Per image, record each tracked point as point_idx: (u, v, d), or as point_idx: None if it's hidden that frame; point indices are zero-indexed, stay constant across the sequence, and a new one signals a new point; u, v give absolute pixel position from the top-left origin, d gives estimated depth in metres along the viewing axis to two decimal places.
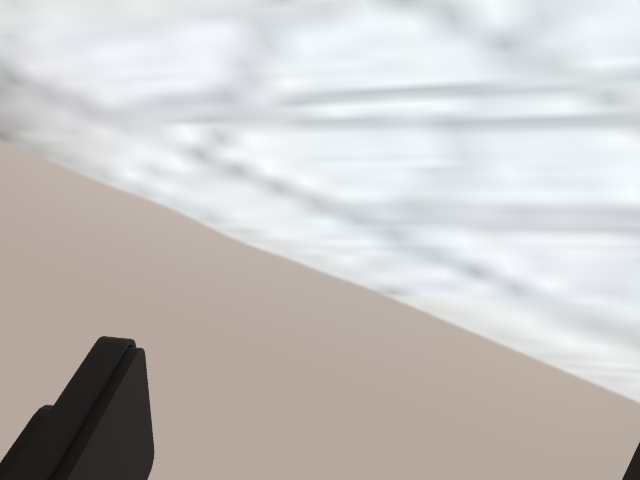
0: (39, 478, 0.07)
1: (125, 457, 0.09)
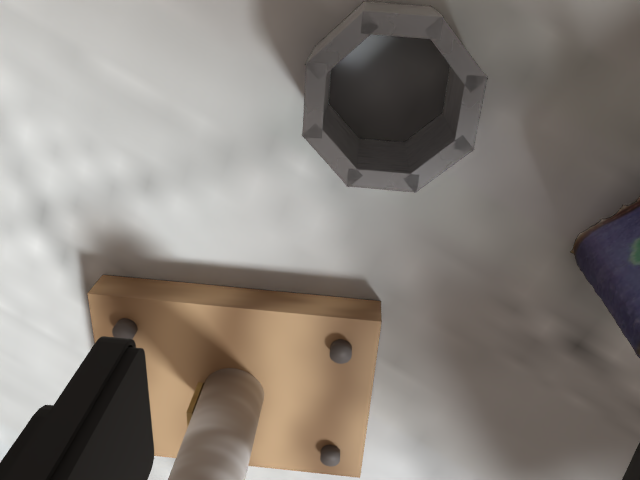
0: (39, 478, 0.07)
1: (125, 457, 0.09)
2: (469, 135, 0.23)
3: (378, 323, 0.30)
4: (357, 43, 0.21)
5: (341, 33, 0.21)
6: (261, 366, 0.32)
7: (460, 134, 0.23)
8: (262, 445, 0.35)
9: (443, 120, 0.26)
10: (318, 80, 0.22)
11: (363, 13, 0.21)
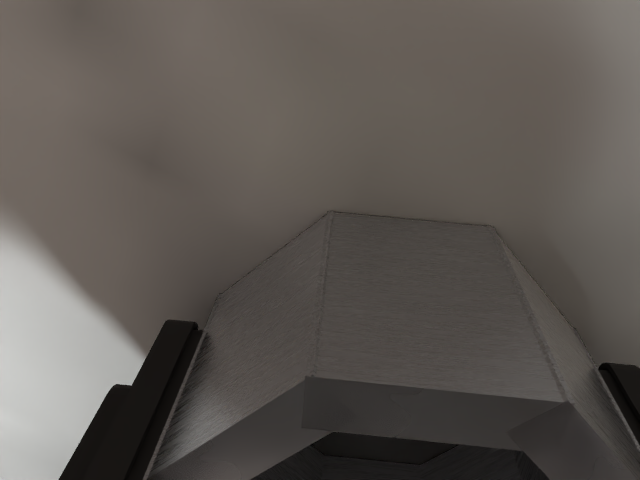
0: (132, 445, 0.08)
1: None
2: None
3: None
4: (292, 450, 0.07)
5: (241, 425, 0.07)
6: None
7: None
8: None
9: (513, 468, 0.11)
10: None
11: (308, 384, 0.06)
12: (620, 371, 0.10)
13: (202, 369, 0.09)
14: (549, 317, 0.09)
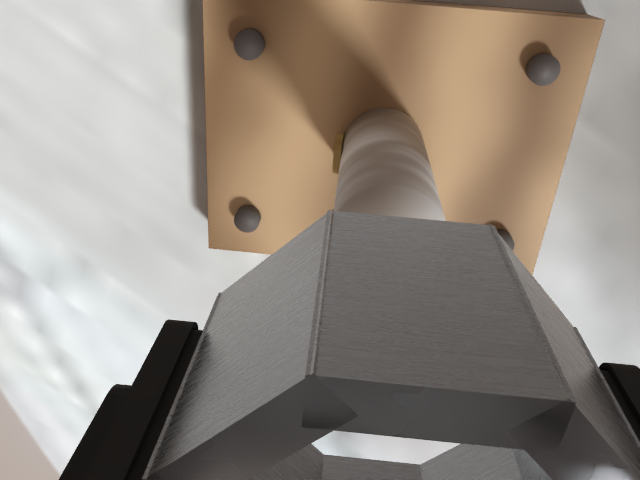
0: (132, 445, 0.08)
1: None
2: None
3: (600, 23, 0.22)
4: (292, 449, 0.07)
5: (240, 424, 0.07)
6: (426, 103, 0.24)
7: None
8: None
9: (513, 467, 0.11)
10: None
11: (308, 383, 0.06)
12: (620, 371, 0.10)
13: (202, 368, 0.09)
14: (550, 316, 0.09)
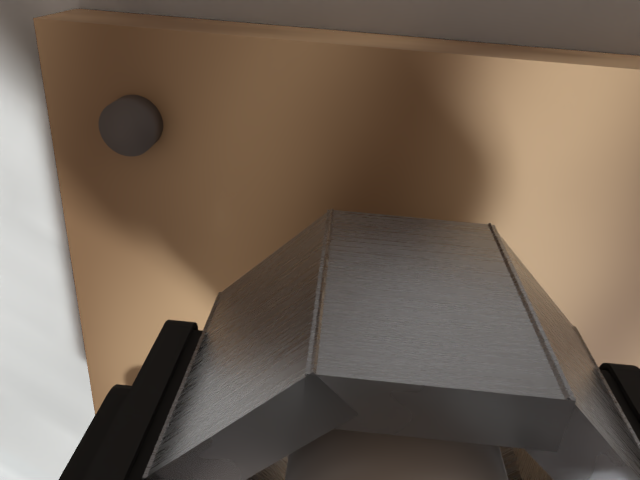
0: (132, 446, 0.08)
1: None
2: None
3: None
4: (292, 448, 0.07)
5: (240, 423, 0.07)
6: None
7: None
8: None
9: (514, 467, 0.11)
10: None
11: (308, 381, 0.06)
12: (620, 371, 0.10)
13: (202, 367, 0.09)
14: (550, 315, 0.09)
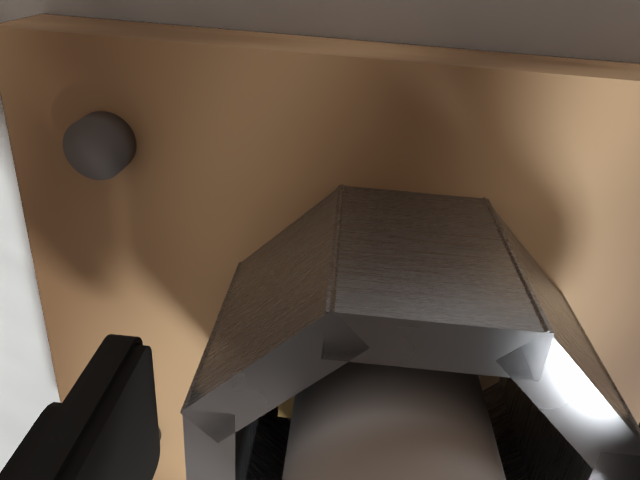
0: (49, 474, 0.07)
1: (132, 454, 0.10)
2: None
3: None
4: (313, 379, 0.08)
5: (269, 357, 0.08)
6: None
7: None
8: None
9: (506, 421, 0.12)
10: (218, 442, 0.09)
11: (327, 318, 0.07)
12: None
13: (229, 322, 0.10)
14: (537, 277, 0.10)
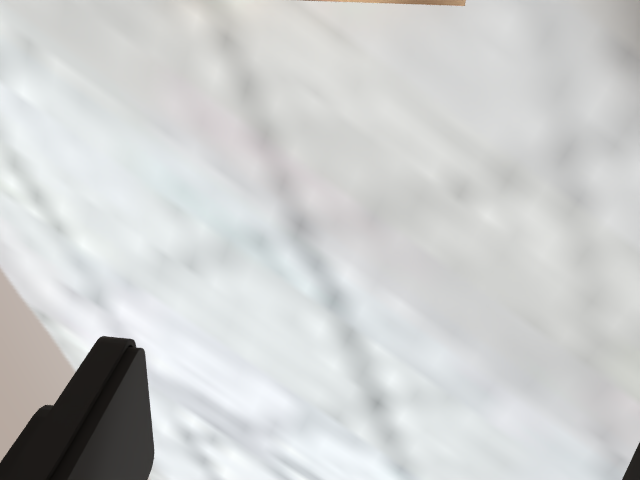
0: (39, 478, 0.07)
1: (125, 457, 0.09)
2: None
3: None
4: None
5: None
6: None
7: None
8: None
9: None
10: None
11: None
12: None
13: None
14: None
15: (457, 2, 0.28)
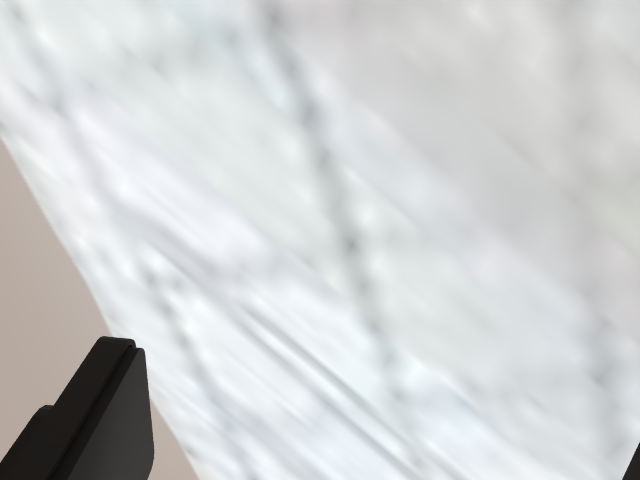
0: (39, 478, 0.07)
1: (125, 457, 0.09)
2: None
3: None
4: None
5: None
6: None
7: None
8: None
9: None
10: None
11: None
12: None
13: None
14: None
15: None
